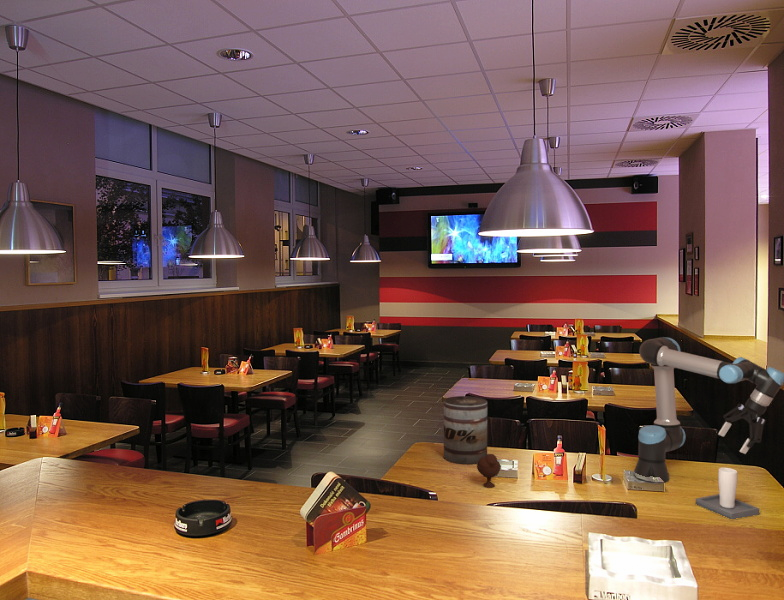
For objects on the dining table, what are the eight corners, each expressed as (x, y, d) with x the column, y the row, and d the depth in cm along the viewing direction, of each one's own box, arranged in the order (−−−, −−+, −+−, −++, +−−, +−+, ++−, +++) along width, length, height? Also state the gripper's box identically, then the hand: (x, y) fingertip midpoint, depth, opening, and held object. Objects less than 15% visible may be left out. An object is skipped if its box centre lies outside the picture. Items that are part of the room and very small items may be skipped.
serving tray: (695, 504, 250) (695, 498, 250) (722, 499, 255) (722, 493, 255) (731, 520, 234) (731, 514, 234) (759, 514, 240) (759, 508, 239)
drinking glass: (739, 510, 241) (740, 473, 240) (720, 509, 242) (721, 472, 241) (733, 503, 247) (734, 468, 247) (715, 502, 249) (716, 467, 248)
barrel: (434, 456, 316) (434, 400, 314) (465, 448, 329) (465, 394, 328) (464, 467, 298) (464, 407, 296) (496, 458, 311) (496, 401, 310)
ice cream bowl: (502, 482, 276) (502, 450, 276) (498, 491, 266) (498, 458, 265) (479, 480, 280) (479, 448, 279) (474, 488, 269) (474, 455, 269)
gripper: (787, 419, 243) (758, 462, 248) (744, 391, 266) (718, 431, 271) (774, 414, 241) (745, 457, 246) (731, 386, 264) (706, 426, 269)
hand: (731, 443), depth 258 cm, fingers open, 13 cm apart
